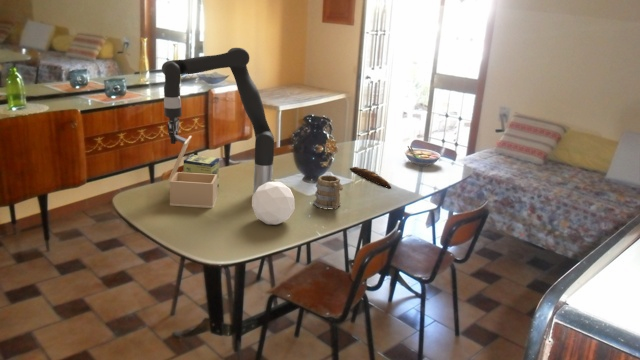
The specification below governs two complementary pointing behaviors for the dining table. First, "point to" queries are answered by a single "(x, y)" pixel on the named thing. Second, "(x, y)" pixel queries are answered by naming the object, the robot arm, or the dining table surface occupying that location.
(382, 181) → the bread
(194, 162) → the protein box
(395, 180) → the dining table surface
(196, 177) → the carton
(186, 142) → the lid flap
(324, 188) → the tankard
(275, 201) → the ball
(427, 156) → the ramen bowl
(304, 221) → the dining table surface
